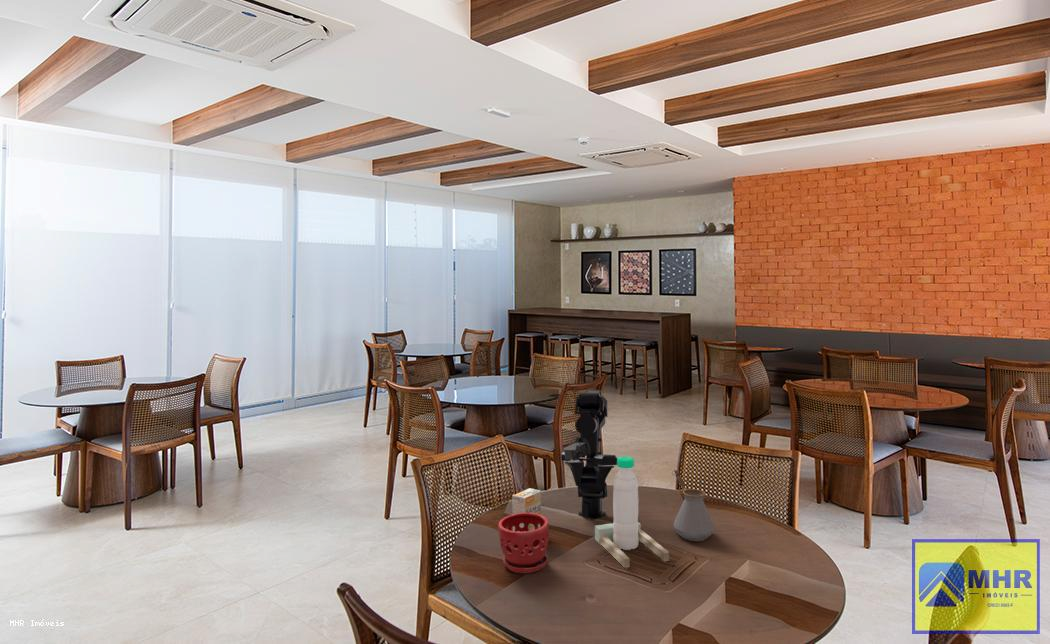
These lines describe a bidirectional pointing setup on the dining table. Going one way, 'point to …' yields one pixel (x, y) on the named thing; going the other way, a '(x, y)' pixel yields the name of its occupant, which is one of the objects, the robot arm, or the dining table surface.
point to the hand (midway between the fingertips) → (588, 487)
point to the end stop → (606, 531)
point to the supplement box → (527, 504)
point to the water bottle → (625, 505)
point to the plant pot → (524, 542)
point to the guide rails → (642, 538)
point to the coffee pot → (693, 515)
